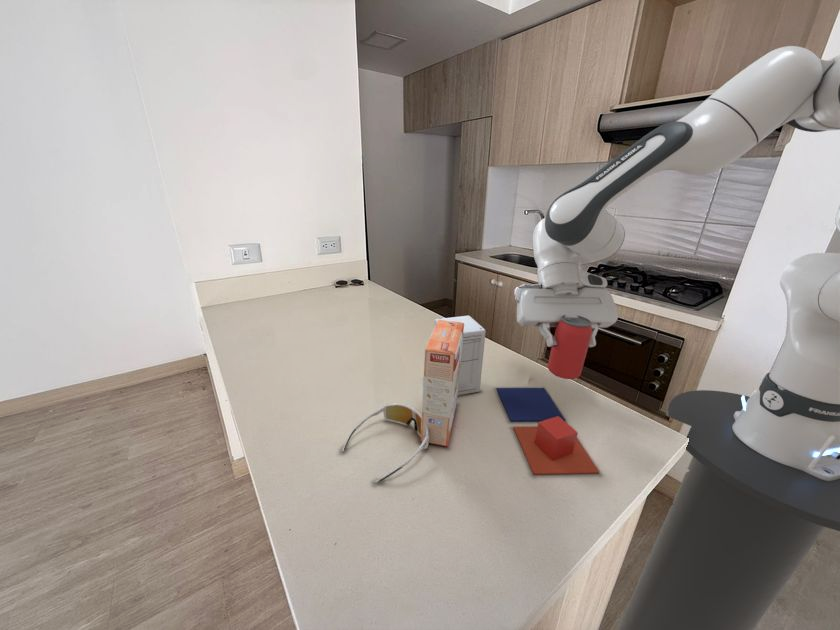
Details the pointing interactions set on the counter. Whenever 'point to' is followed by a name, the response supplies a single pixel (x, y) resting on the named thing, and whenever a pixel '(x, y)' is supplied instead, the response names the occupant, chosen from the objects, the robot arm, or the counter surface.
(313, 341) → the counter surface
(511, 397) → the navy mat
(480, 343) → the supplement box
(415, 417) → the sunglasses
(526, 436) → the terracotta mat
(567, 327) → the beer can
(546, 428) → the red block
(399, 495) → the counter surface
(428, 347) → the cracker box
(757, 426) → the robot arm
